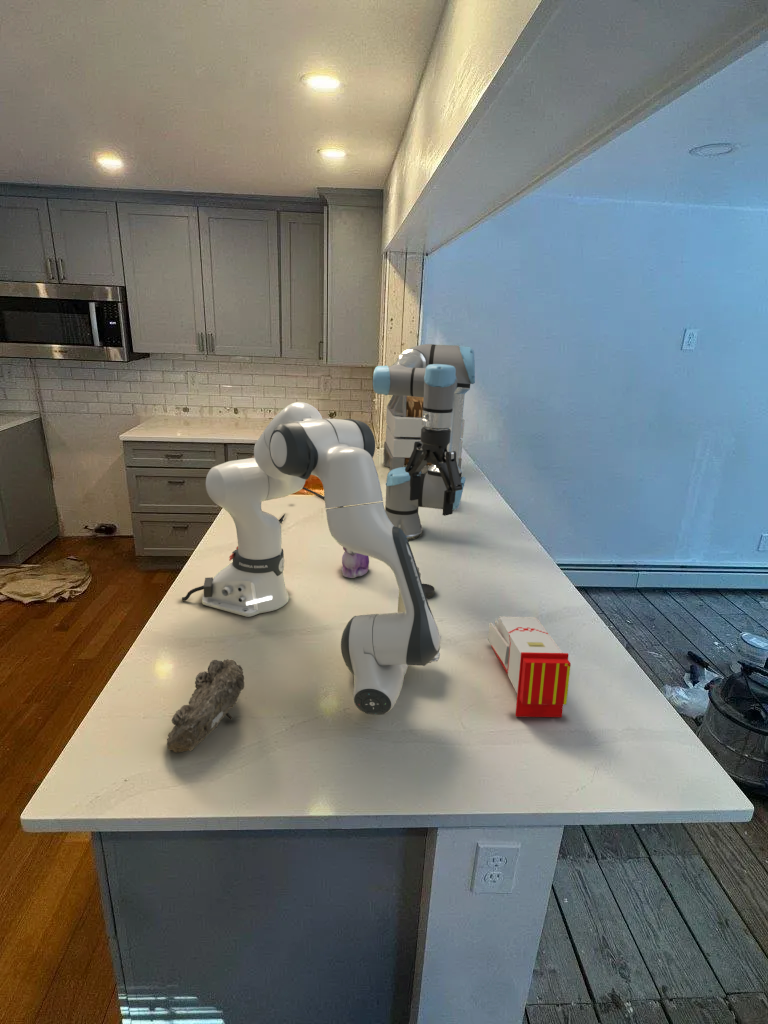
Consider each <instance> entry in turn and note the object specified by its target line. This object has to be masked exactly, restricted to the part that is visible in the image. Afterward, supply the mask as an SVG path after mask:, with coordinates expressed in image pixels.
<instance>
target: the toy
mask: <svg viewBox="0 0 768 1024" xmlns="http://www.w3.org/2000/svg"><path fill="white" fill-rule="evenodd" d="M488 625H489V627H488V633H487V641H488V642H489V644H490V646H491V647H490V648H491V649H492V650H493V652H494V654H495V656H496V658H497V659H498V660H499V662H500V664H501V666H502V668H503V669H504V671H505V673H506V674H507V676H508V678H509V680H510V682H511V685H512V686H513V689H514V690H515V693H516V704H515V717H516V718H517V717H518V718H519V717H520V718H521V717H522V718H563V710H564V705H567V701H568V692H569V685H570V684H569V683H570V676H571V675H570V674H571V666H572V664H571V661H570V660H569V655H570V654H569V653H568V652H563V651H562V649H561V648H560V647H559V646H558V644H557V643H556V642H555V640H554V639H553V638H552V636H551V635H550V634H549V632H548V631H547V629H546V628H545V627H544V626H543V624H542V622H541V621H540V620H539V619H538V618H537V616H498V618H496V619H494V623H493V622H489V624H488Z"/></svg>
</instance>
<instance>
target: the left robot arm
mask: <svg viewBox="0 0 768 1024" xmlns="http://www.w3.org/2000/svg"><path fill="white" fill-rule="evenodd" d="M375 452H376V438H375V436H374V433H373V430H372V429H371V427H370V426H369V425H368V424H367V423H366V422H364V421H361V420H359V419H358V420H357V419H354V418H323V416H322V414H321V413H320V411H319V410H318V409H317V408H316V407H315V406H314V405H312V404H310V403H308V402H304V401H295V402H292V403H290V404H288V405H286V406H285V407H284V408H282V409H281V410H280V411H279V412H278V413H277V414H276V415H275V416H274V417H273V418H272V420H270V422H269V423H268V424H267V426H266V427H265V429H264V430H263V432H262V433H261V434H260V436H259V437H258V439H257V440H256V441H255V443H254V447H253V457H249V458H242V459H234V460H229V461H225V462H223V463H220V464H218V465H215V466H212V467H211V468H210V469H209V471H208V472H207V475H206V477H205V491H206V494H207V496H208V497H209V499H210V500H211V501H212V502H213V503H214V504H215V505H216V506H219V507H221V508H222V509H224V510H225V511H226V512H227V513H228V514H229V515H230V517H231V518H232V520H233V522H234V526H235V530H236V537H237V539H236V540H237V546H236V547H235V550H233V551H232V553H231V554H230V555H229V557H228V558H229V559H228V561H232V562H230V563H229V564H228V565H226V566H225V567H223V568H222V569H220V570H219V571H218V572H217V573H216V574H215V576H214V577H213V576H212V577H211V576H210V577H204V582H203V585H201V586H197V587H195V588H192V589H190V590H189V591H188V592H187V593H186V595H185V596H183V597H181V601H182V602H186V601H187V600H189V599H190V597H191V595H192V594H194V593H196V592H200V591H202V590H203V595H202V599H201V604H202V605H204V606H207V607H210V608H214V609H218V610H221V611H225V612H228V613H232V614H236V615H239V616H241V617H246V618H251V617H253V616H256V615H258V614H259V615H260V614H262V613H270V612H273V611H276V610H278V609H281V608H282V607H284V606H285V605H286V604H288V602H289V600H290V595H289V593H288V590H287V586H286V582H285V576H284V571H285V556H284V555H285V552H284V549H283V541H282V540H283V537H282V524H281V522H279V519H278V517H277V516H275V515H274V514H271V513H269V512H266V511H263V510H262V503H263V502H265V501H271V500H276V499H281V498H285V497H289V496H291V495H293V494H295V493H297V492H299V491H301V490H303V489H302V488H303V487H304V486H305V484H306V481H307V480H308V479H309V478H310V476H315V477H317V478H318V479H319V480H320V482H321V483H322V487H323V496H324V498H325V499H324V509H325V515H326V521H327V526H328V530H329V533H330V535H331V537H332V538H333V540H334V541H335V542H336V543H337V544H339V546H341V547H342V548H343V547H344V548H346V549H348V550H350V551H352V552H355V553H359V554H362V555H366V556H368V557H369V558H372V559H376V560H378V561H381V562H383V563H384V564H386V565H387V566H388V567H389V569H390V570H392V572H393V575H394V577H395V581H396V584H397V587H398V592H399V591H400V594H401V597H402V601H403V604H404V607H405V612H401V613H398V612H391V613H390V612H389V613H370V614H360V615H353V617H351V618H350V620H349V621H348V622H347V624H346V625H345V627H344V629H343V632H342V634H341V640H340V651H341V656H342V659H343V662H344V665H346V667H347V669H348V670H349V671H350V673H351V674H352V675H353V690H352V700H353V703H354V705H355V707H356V708H358V710H360V711H361V712H363V713H364V714H367V715H370V716H371V715H372V716H381V715H386V714H387V713H389V712H390V711H391V710H393V708H394V707H395V705H396V703H397V701H398V698H399V697H400V694H401V691H402V688H403V685H404V677H405V676H406V674H407V671H408V667H409V666H419V667H422V666H423V667H425V666H426V665H428V664H432V663H433V662H434V663H435V662H438V661H439V660H440V657H441V653H440V650H441V647H442V635H441V634H440V631H439V628H438V625H437V622H436V619H435V617H434V615H433V612H432V609H431V607H430V605H429V601H428V598H426V595H425V592H424V588H423V585H422V584H423V582H422V579H420V575H419V572H420V571H419V572H418V569H417V567H418V565H417V563H416V560H415V557H414V555H413V551H412V548H411V545H410V543H409V540H407V538H406V536H405V534H404V532H403V531H402V529H400V528H398V527H395V526H394V525H393V524H392V523H391V521H390V520H389V518H388V516H387V514H386V512H385V506H384V505H385V504H384V500H383V499H384V498H383V492H382V487H381V482H380V478H379V474H378V471H377V467H376V465H375V462H374V456H375ZM342 506H343V507H342Z"/></svg>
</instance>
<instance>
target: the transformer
mask: <svg viewBox="0 0 768 1024" xmlns="http://www.w3.org/2000/svg"><path fill="white" fill-rule="evenodd" d="M423 400H424V397H413V396H398V395H391V398H390V400H389V402H388V404H387V405H386V413H385V414H386V415H385V423H386V428H385V438H384V442H383V466H384V467H388V468H389V472H390V471H391V470H393V469H396V468H400V467H405V466H407V464H408V461H409V459H410V457H411V454H412V452H413V450H414V443H415V442H417V441H421V429H422V428H423V427H424V426H423V425H422V414H423ZM464 429H465V419H464V418H462V428H461V439H460V450H459V460H458V467H459V468H460V470H461V471H462V461H463V460H462V453H463V442H464V441H463V440H462V439H463V438H464V431H465V430H464ZM422 454H423V452H422ZM431 465H432V463H427V464H426V466H425V467H430V466H431Z"/></svg>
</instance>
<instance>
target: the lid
mask: <svg viewBox="0 0 768 1024" xmlns="http://www.w3.org/2000/svg"><path fill="white" fill-rule="evenodd" d="M422 585H423V588H424V592H425V595H426V598H427V599H431V598H432V597H434V595H435V594H436V593H435V587H434V586H433V585H431V584H429V583H422Z"/></svg>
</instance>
